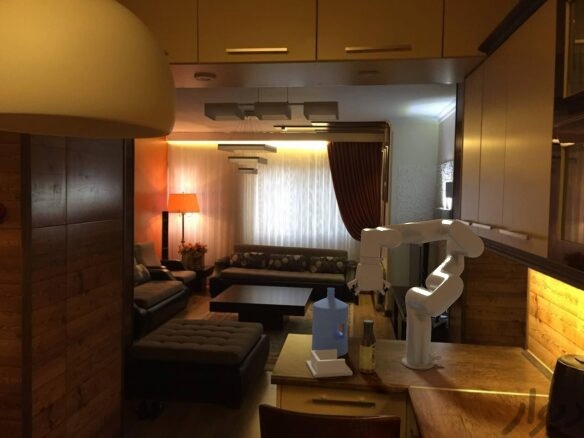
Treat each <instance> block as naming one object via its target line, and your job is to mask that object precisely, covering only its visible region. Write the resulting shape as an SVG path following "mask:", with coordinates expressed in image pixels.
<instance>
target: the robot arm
mask: <svg viewBox="0 0 584 438" xmlns="http://www.w3.org/2000/svg"><path fill="white" fill-rule="evenodd" d="M360 236H361V237H360V253H359V254H360V256H359V257H360V258H359V259H360V260H359V263H357V266H356V269H355V271H356V272H355V278H354V279H353V280H351V281H349V282H347V284H346V285H347V287H348V289H349V291H350V292H351V293H352V295H353V298H352V299H353V302H352V303H353V304H354V305H355V306H357V307H358V306H359V304H360V303H359V302H360V295H359V293H360V292H361V291H362V292H363V291H364V292H365V291H366V292H367V291H378V294H377V303H378V305H379V306H383V305H384V304H383V303H384V298H385V295H386V293H387V292H388V291H389V289H390V287H391V285H392V284H391V283H390V282H389V281H387V280H385V279H384V274H383V267H382V264H381V263H382V262H384V257H382V256H381V248H386V249H395V248H399V246H400V245H401V244H403V243H406V244H424V243H426V244H427V243H431V242H436V241H443V240H444V241H447V242H446V256H445V259H444V261H442V262H441V264H439V265H438V267H436V268H435V269H434V270H433V271H432V272H431V273H429V274H428V276H427V278H426V279H425V286H426V288H425V287H421V286H414V287H411V288H409V289H408V290H407V292H406V294H405V301H404V302H405V308H406V339H405V357H402V359H401V364H402V365H403V366H404V367H406V368H410V369H413V370H421V371H425V370H431V369H432V368H433V367H434V365H435V364H434V361H435V360H436V361H439V360H440V361H441V360H442V356H441V354H436V353H431V339H432V318H434V317H438V316H441V315H443V313H445V312H446V311H447V310H448V309H449V307H451V305H452V304H454V303H455V302H456V301H457V300H458V299H459V297H460V296H461V295H462V293H463V290H464V281H463V279H462V278H461V277H460V276H461V274H462V273H463V271H464V270H465V257H466V258H478V257H480V256H481V255H482V254H483V253H484V251H485V243H484V241H483V240H482V238H481V237H480V236H479V235H477V234H476V232H474V231H473V230H472V229H470V228H469V226H467V225H466V224H464V223H463V222H462V221H460V220H457V219H448V218H438V219H431V220H425V221H418V222H417V221H416V222H407V223H399V224H389V225H382V226H378V227H375V228H363V229H362V230H361V233H360ZM353 285H354V288H353ZM384 285H385V286H384Z"/></svg>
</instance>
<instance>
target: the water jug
mask: <svg viewBox="0 0 584 438" xmlns="http://www.w3.org/2000/svg"><path fill="white" fill-rule="evenodd" d="M326 290H327V296H326V297H325V298H322V299H319V300H318V301H316V302H314V303H313V304H312V326H311V333H312V335H311V337H312V338H311V339H312V340H311V350H332V349H337V358H339V357H343V356H346V354H347V353H348V351H349V350H348V341H349V339H348V335H347V334H348V333H347V328H348V325H347V323H348V321H349V311H350V309H349V305H348V304H347V303H345V302H344V301H342V300H340V299H338V298H336V297H335V288H334V287H327V289H326ZM340 325H342V331H340V330H339V329H340V327H339V326H340Z"/></svg>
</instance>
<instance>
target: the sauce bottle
mask: <svg viewBox="0 0 584 438" xmlns="http://www.w3.org/2000/svg"><path fill="white" fill-rule="evenodd" d="M362 325H363V332H362V334H361V335H360V339H359V371H360V373H363V374H369V375H370V374H373V373H375V372H376V362H377V361H376V358H377V356H376V354H377V340H376V337H375V334H374V325H375V323H374V321H373V320H372V319H364V320H363V321H362Z"/></svg>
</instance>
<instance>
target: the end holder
mask: <svg viewBox="0 0 584 438" xmlns="http://www.w3.org/2000/svg"><path fill="white" fill-rule="evenodd" d="M305 362H306V363H305V364H306V367H308V369H309V371H310V373H311V374H312V376H313V378H328V377H331V378H332V377H343V376H344V377H345V376H347V377H348V376H353V370H351V368H350V367H349V366H348V365H347V363H346V359H345V358H338V357H337V349H332V350H312V349H311V350H310V360H306V361H305Z"/></svg>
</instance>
